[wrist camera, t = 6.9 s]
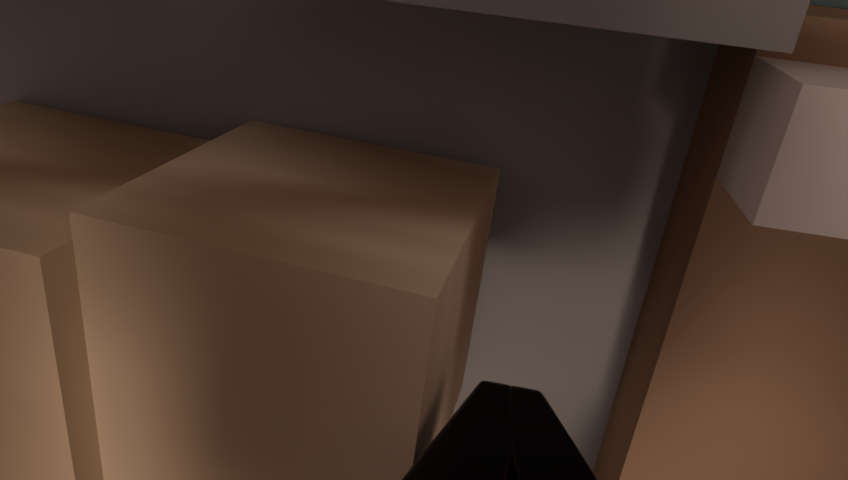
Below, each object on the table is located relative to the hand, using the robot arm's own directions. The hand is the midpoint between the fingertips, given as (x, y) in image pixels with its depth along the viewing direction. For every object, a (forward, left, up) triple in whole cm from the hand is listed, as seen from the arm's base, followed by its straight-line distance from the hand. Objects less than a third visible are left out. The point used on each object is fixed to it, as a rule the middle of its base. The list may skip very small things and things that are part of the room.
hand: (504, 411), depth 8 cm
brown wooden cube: (+2, +1, -3) cm, 4 cm away
